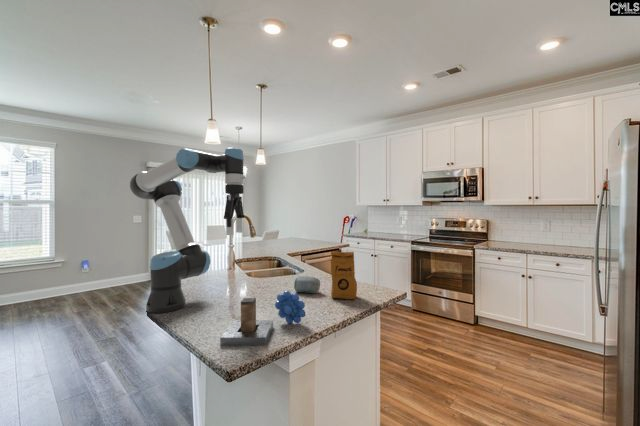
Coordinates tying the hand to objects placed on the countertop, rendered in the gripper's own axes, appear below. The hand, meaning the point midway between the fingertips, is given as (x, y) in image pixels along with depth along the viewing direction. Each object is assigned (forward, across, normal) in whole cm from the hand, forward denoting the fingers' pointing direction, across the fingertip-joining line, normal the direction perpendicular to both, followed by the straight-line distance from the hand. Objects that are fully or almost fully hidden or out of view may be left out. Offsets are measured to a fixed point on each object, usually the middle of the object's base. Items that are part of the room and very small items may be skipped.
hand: (234, 233), depth 125 cm
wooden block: (+32, -29, -13) cm, 45 cm away
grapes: (+32, -19, -26) cm, 45 cm away
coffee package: (+32, +13, -48) cm, 59 cm away
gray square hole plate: (+32, -29, -13) cm, 45 cm away
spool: (+32, +22, -30) cm, 49 cm away
